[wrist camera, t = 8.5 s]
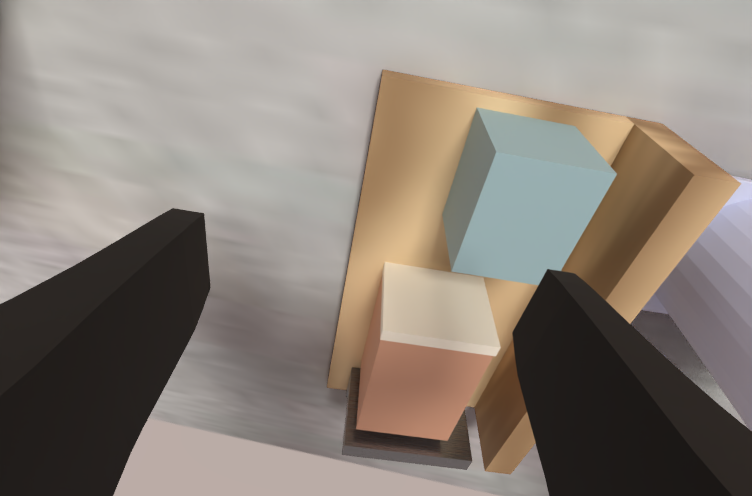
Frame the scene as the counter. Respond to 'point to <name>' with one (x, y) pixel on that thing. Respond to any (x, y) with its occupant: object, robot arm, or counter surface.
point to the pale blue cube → (521, 196)
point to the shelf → (507, 298)
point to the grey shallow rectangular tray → (402, 439)
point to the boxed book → (424, 351)
